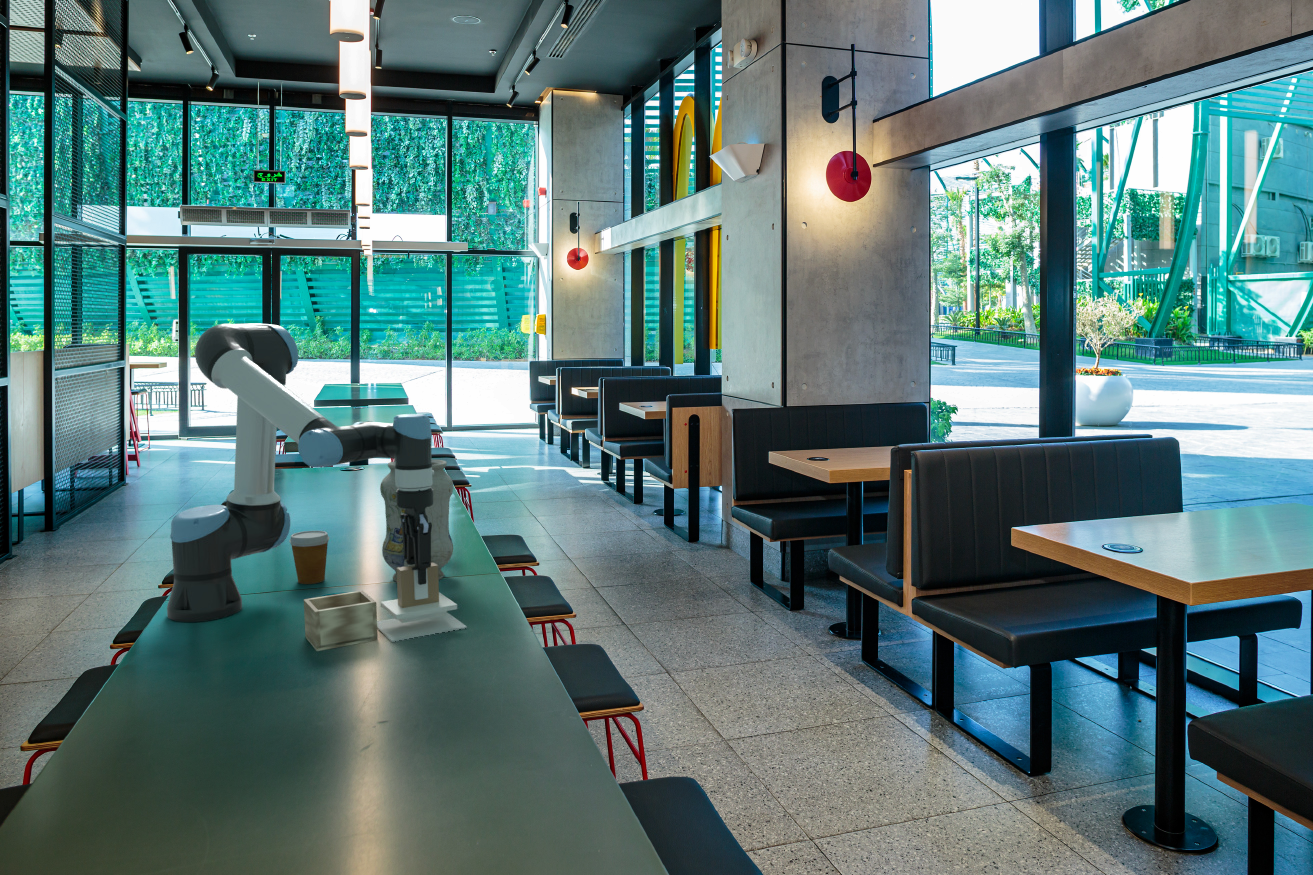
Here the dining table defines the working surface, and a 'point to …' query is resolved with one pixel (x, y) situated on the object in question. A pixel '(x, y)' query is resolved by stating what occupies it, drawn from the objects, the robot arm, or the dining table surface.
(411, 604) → the lid
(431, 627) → the tray
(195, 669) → the dining table surface
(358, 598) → the crate
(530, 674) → the dining table surface
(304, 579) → the disposable coffee cup
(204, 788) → the dining table surface
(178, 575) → the robot arm
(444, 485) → the vase
